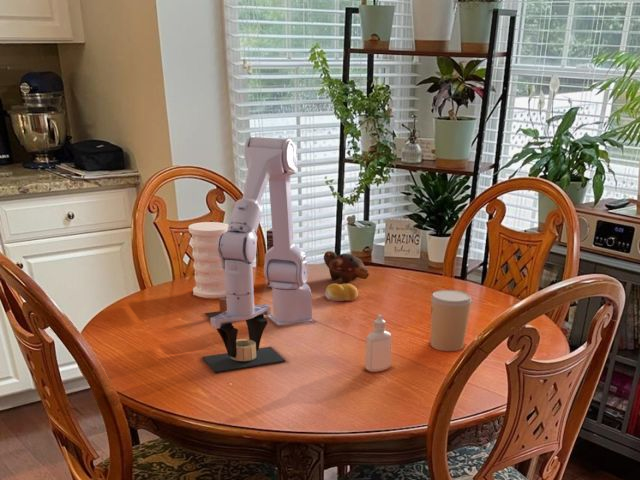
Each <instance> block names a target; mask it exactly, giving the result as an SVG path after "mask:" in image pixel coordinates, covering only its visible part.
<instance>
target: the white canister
mask: <svg viewBox="0 0 640 480" xmlns="http://www.w3.org/2000/svg"><path fill="white" fill-rule="evenodd" d="M430 301H431V304H430V306H431V307H430V345H431V347H432V348H434V349H436V350H439V351H442V352H455V351H460V350H461V349H462V350H463V347H464V344H465V339H466V334H467V329H468V322H469V318H470V311H471V305H472V302H473V298H472V296H471V294H470V293H468V292H465V291H462V290H457V289H441V290H436V291H434V292H433V293H432V294H431V296H430Z"/></svg>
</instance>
